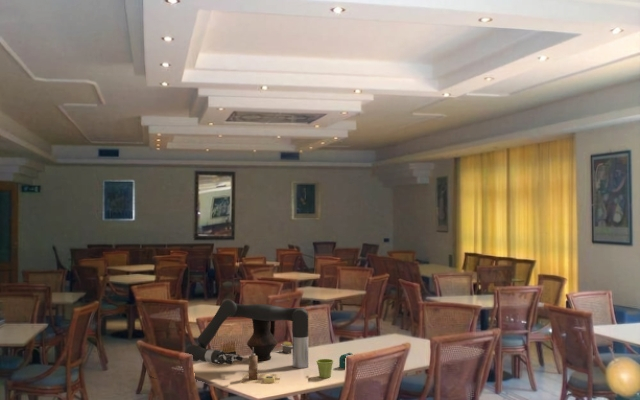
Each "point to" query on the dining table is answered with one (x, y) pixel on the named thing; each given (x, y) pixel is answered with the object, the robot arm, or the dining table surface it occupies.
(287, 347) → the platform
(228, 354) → the robot arm
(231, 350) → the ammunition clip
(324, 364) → the plant pot
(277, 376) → the plywood panel
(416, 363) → the dining table surface
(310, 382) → the dining table surface
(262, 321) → the jug
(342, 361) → the bracket
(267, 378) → the stud finder
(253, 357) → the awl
